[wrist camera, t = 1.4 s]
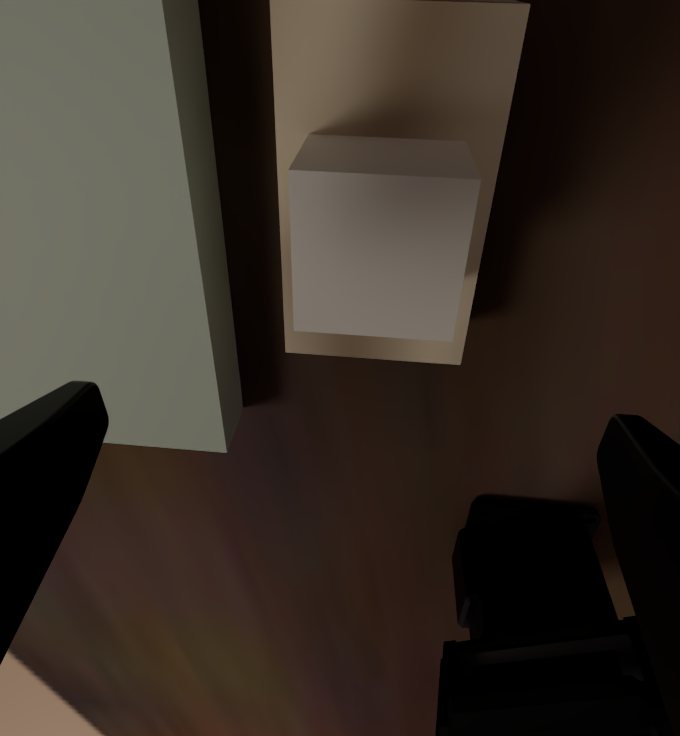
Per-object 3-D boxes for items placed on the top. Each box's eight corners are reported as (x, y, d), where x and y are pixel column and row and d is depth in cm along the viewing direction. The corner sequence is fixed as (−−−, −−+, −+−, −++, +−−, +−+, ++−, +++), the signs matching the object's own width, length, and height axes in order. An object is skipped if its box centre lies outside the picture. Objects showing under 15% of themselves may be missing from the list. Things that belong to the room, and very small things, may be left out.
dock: (165, -295, 13) (110, -356, 10) (243, 408, 26) (226, 452, 23) (-302, -294, 13) (-455, -353, 11) (4, 389, 27) (-35, 430, 24)
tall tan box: (510, -1, 16) (530, 4, 13) (454, 322, 22) (460, 364, 20) (289, -9, 16) (269, -5, 14) (297, 311, 23) (285, 352, 20)
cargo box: (466, 141, 15) (481, 179, 12) (444, 283, 18) (452, 341, 15) (308, 134, 15) (288, 169, 13) (310, 275, 18) (293, 330, 15)
